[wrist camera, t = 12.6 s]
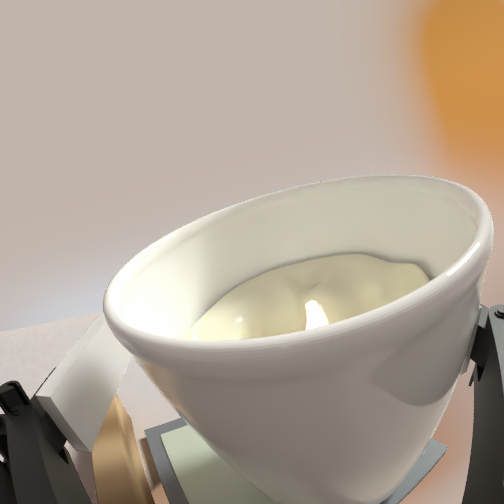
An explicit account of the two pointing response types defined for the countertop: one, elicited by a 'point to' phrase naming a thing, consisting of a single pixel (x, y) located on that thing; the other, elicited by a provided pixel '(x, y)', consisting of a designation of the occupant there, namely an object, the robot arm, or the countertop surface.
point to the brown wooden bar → (119, 461)
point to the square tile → (224, 477)
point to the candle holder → (313, 328)
